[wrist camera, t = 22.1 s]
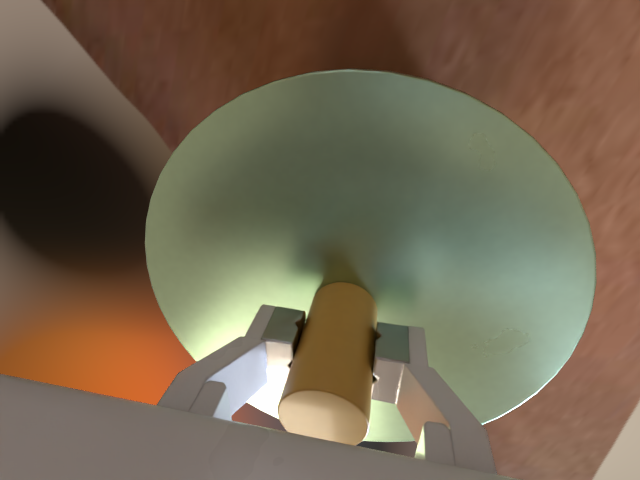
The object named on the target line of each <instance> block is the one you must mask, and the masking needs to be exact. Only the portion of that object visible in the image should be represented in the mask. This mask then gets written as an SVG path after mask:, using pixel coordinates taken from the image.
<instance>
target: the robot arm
mask: <svg viewBox="0 0 640 480" xmlns="http://www.w3.org/2000/svg"><path fill="white" fill-rule="evenodd" d="M305 322H306V312H305V311H302V310H296V309H290V308H284V307H278V306H277V307H276V306H271V305H265V304H263V305H262V306H261V307H260V308H259V310H258V312H257V314H256V316H255V318H254V319H253V321H252V323H251V325H250V327H249V329H248V331H247V333H246V335H245V336H244V337H242V336H240V337H238V338H236V339H235V340H233V341H231V342H230V343H228V344H226V345H225V346H223V347H221V348H219V349H218V350H216V351H214V352H213V353H211V354H209V355H208V356H206V357H204V358H203V359H201V360H199V361H198V362H196V363H195V364H192V365H191V366H189V367H187V368H186V369H184V370H182V371H181V372H179V373H178V374H177V376H176V377H175V379H174V380H173V381H172V383H171V385H170V386H169V387H168V389H167V391H166V392H165V393H164V395H163V396H162V398H161V399H160V401H159V402H158V404H157V405H151V404H147V403H142V402H137V401H132V400H127V399H122V398H117V397H113V396H108V395H103V394H97V393H93V392H88V391H83V390H78V389H73V388H68V387H63V386H58V385H53V384H48V383H43V382H38V381H34V380H29V379H24V378H19V377H14V376H9V375H4V374H0V480H521V479H516V478H511V477H506V476H501V475H497V472H496V468H495V463H494V459H493V455H492V451H491V447H490V442H489V438H488V434H487V430H486V429H485V428H484V427H483V426H482V425H481V423H480V422H479V421H478V420H477V419H476V417H475V416H474V415H473V414H472V413H471V412H470V410H469V409H468V408H467V407H466V406H465V404H464V403H463V402H462V401H461V400H460V399H459V397H458V396H457V395H456V394H455V393H454V391H453V390H452V389H451V388H450V387H449V386H448V384H447V383H446V382H445V381H444V380H443V378H442V377H441V376H440V375H439V374H438V373H437V371H436V370H435V369H434V368H432V367H429V366H428V356H427V347H426V337H425V330H424V328H422V327H415V326H405V325H398V324H391V323H383V322H377V324H376V331H375V343H374V346H375V350H374V357H373V372H372V374H373V381H372V395H371V399H373V400H377V401H382V402H387V403H392V404H396V407H397V408H398V410H399V412H400V414H401V416H402V418H403V419H404V421H405V423H406V425H407V427H408V429H409V430H410V432H411V434H412V436H413V438H414V440H415V441H416V443H417V445H418V446H417V450H416V453H415V457H414V458H413V457H408V456H403V455H398V454H393V453H388V452H383V451H378V450H373V449H368V448H364V447H359V446H354V445H349V444H344V443H339V442H334V441H329V440H324V439H319V438H314V437H309V436H304V435H300V434H295V433H290V432H284V431H280V430H275V429H269V428H265V427H260V426H255V425H250V424H245V423H241V422H236V421H232V418H231V415H232V414H234V413H235V412H236V411H237V410H238V409H239V408H240V407H241V406H242V405H244V403H246V402H247V401H248V400H249V399H250V398H251V397H252V396H254V395H255V394H256V393H257V392H258V391H259V390H260V389H261V388H262V387H264V386H265V385H266V384H267V383H268V381H270V382H277V383H283V384H285V382H286V379H287V376H288V373H289V370H290V367H291V364H292V361H293V358H294V355H295V352H296V349H297V346H298V343H299V340H300V337H301V334H302V331H303V328H304V325H305Z"/></svg>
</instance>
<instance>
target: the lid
mask: <svg viewBox="0 0 640 480" xmlns="http://www.w3.org/2000/svg"><path fill="white" fill-rule="evenodd" d="M145 249H146V260H147V267H148V272H149V276H150V280H151V285H152V288H153V291H154V294H155V296H156V299H157V302H158V304H159V307H160V309H161V311H162V313H163V315H164V316H165V319H166V320H167V322H168V324H169V326H170V328H171V329H172V331H173V332H174V334H175V335H176V337H177V338H178V340H179V341H180V343H181V344H182V345H183V346H184V348H185V349H186V350H187V351H188V352H189V354H190V355H191V356H192V357H193V358H194V360H196V362H198V361H199V360H201V359H203V358H204V357H206V356H208V355H209V354H211V353H213V352H214V351H216V350H218V349H219V348H221V347H223V346H225V345H226V344H228V343H230V342H231V341H233V340H235V339H236V338H238V337H240V336H242V337H244V336H245V335H246V333H247V331H248V329H249V327H250V325H251V323H252V321H253V319H254V318H255V316H256V314H257V312H258V310H259V308H260V307H261V306H262V305H263V304H265V305H271V306H276V307H277V306H278V307H284V308H290V309H296V310H302V311H305V312H306V322H305V325H304V328H303V331H302V334H301V337H300V340H299V343H298V346H297V349H296V352H295V355H294V358H293V361H292V364H291V367H290V370H289V373H288V376H287V379H286V382H285V384H283V383H277V382H270V381H268V383H267V384H266V385H265V386H264V387H262V388H261V389H260V390H259V391H258V392H257V393H256V394H255V395H254V396H252V397H251V398H250V399H249V400H248V401H247V403H249V404H251V405H253V406H254V407H256V408H258V409H259V410H261V411H263V412H265V413H268V414H270V415H272V416H274V417H276V418H278V419H279V420H280V422H281V424H282V425H283V427H284V428H285V429H286V430H287V431H288V432H290V433H295V434H300V435H304V436H309V437H314V438H319V439H324V440H329V441H334V442H339V443H344V444H349V445H354V446H355V445H357V444H359V443H360V442H361V441H378V442H402V441H415V440H414V438H413V436H412V434H411V432H410V430H409V429H408V427H407V425H406V423H405V421H404V419H403V418H402V416H401V414H400V412H399V410H398V408H397V407H396V404H392V403H387V402H382V401H377V400H373V399H371V395H372V381H373V374H372V372H373V357H374V350H375V346H374V343H375V331H376V324H377V322H383V323H391V324H398V325H405V326H415V327H422V328H424V330H425V337H426V347H427V356H428V366H429V367H432V368H434V369H435V370H436V371H437V373H438V374H439V375H440V376H441V377H442V378H443V380H444V381H445V382H446V383H447V384H448V386H449V387H450V388H451V389H452V390H453V391H454V393H455V394H456V395H457V396H458V397H459V399H460V400H461V401H462V402H463V403H464V404H465V406H466V407H467V408H468V409H469V410H470V412H471V413H472V414H473V415H474V416H475V417H476V419H477V420H478V421H479V422H480V423H481V425H482V424H485V423H487V422H490V421H492V420H494V419H497V418H499V417H500V416H502V415H504V414H506V413H508V412H509V411H511V410H513V409H515V408H517V407H518V406H520V405H521V404H522V403H524V402H525V401H527V400H528V399H529V398H531V397H532V396H533V395H535V394H536V393H538V392H539V391H540V390H541V389H542V388H543V387H544V386H545V385H546V384H547V383H548V382H549V381H550V380H551V379H552V378H553V377H554V376H555V375H556V374H557V373H558V372H559V370H560V369H561V368H562V367H563V365H564V364H565V363H566V361H567V360H568V359H569V358H570V356H571V355H572V353H573V351H574V349H575V348H576V346H577V344H578V342H579V340H580V339H581V337H582V335H583V333H584V330H585V327H586V325H587V322H588V319H589V316H590V313H591V311H592V306H593V300H594V294H595V288H596V252H595V247H594V242H593V238H592V233H591V228H590V224H589V221H588V218H587V216H586V214H585V211H584V209H583V206H582V204H581V202H580V199H579V197H578V194H577V192H576V191H575V189H574V188H573V186H572V185H571V183H570V182H569V180H568V179H567V177H566V175H565V174H564V172H563V171H562V169H561V168H560V166H559V165H558V163H557V162H556V161H555V160H554V159H553V158H552V157H551V156H550V155H549V154H548V153H547V151H546V150H545V149H544V148H543V147H542V146H541V145H540V144H539V143H538V142H537V141H536V140H535V139H534V137H532V136H531V135H530V134H529V133H527V132H526V131H525V130H523V129H522V128H521V127H520V126H518V125H517V124H516V123H514V122H513V121H512V120H511V119H509V118H508V117H507V116H505V115H504V114H503V113H501V112H500V111H498V110H496V109H494V108H493V107H491V106H489V105H487V104H485V103H483V102H482V101H480V100H478V99H476V98H474V97H473V96H471V95H469V94H467V93H465V92H463V91H460V90H458V89H455V88H452V87H450V86H447V85H444V84H441V83H439V82H436V81H433V80H431V79H428V78H423V77H418V76H414V75H409V74H404V73H399V72H395V71H390V70H374V69H358V68H347V69H335V70H323V71H313V72H309V73H305V74H300V75H296V76H292V77H288V78H283V79H279V80H276V81H273V82H270V83H268V84H265V85H263V86H261V87H258V88H256V89H253V90H251V91H248V92H246V93H243V94H241V95H240V96H238V97H236V98H235V99H233V100H231V101H230V102H228V103H226V104H225V105H223V106H221V107H220V108H218V109H216V110H215V111H214V112H212V113H211V114H210V115H209V116H208V117H207V118H205V119H204V120H203V121H202V122H201V123H199V124H198V125H197V126H196V127H195V128H194V129H192V130H191V132H190V133H189V134H188V135H187V136H186V138H185V139H184V140H183V141H182V142H181V143H180V145H179V146H178V147H177V148H176V149H175V151H174V152H173V154H172V155H171V157H170V159H169V160H168V162H167V164H166V165H165V167H164V169H163V170H162V172H161V174H160V177H159V179H158V181H157V184H156V187H155V189H154V192H153V194H152V197H151V201H150V206H149V211H148V215H147V220H146V234H145Z"/></svg>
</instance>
